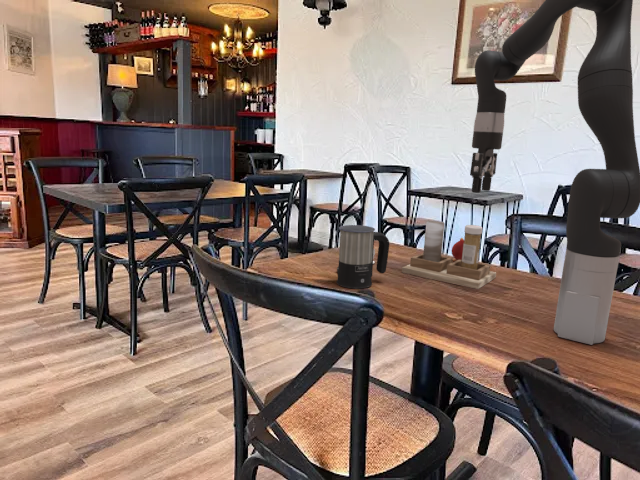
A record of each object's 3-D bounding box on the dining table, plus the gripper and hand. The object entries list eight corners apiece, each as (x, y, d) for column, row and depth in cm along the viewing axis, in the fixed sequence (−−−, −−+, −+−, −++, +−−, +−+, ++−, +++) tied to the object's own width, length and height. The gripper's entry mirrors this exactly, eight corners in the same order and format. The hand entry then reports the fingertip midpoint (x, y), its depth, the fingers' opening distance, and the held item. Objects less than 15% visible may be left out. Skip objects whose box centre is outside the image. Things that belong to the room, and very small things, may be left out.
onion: (471, 262, 155) (474, 238, 153) (466, 266, 150) (469, 240, 148) (453, 259, 158) (456, 235, 156) (447, 262, 153) (450, 237, 151)
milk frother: (353, 291, 119) (357, 232, 116) (312, 276, 131) (314, 222, 128) (391, 282, 129) (396, 227, 126) (350, 269, 140) (353, 218, 137)
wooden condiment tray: (478, 289, 126) (484, 234, 124) (401, 272, 139) (406, 222, 136) (495, 277, 138) (501, 227, 135) (423, 263, 151) (428, 217, 148)
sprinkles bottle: (480, 274, 135) (486, 226, 132) (469, 276, 132) (475, 228, 129) (467, 270, 138) (472, 223, 135) (456, 272, 136) (461, 225, 133)
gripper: (494, 130, 122) (486, 194, 125) (509, 132, 133) (502, 191, 137) (465, 129, 126) (458, 191, 129) (482, 131, 137) (475, 188, 141)
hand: (481, 191), depth 133 cm, fingers open, 8 cm apart
